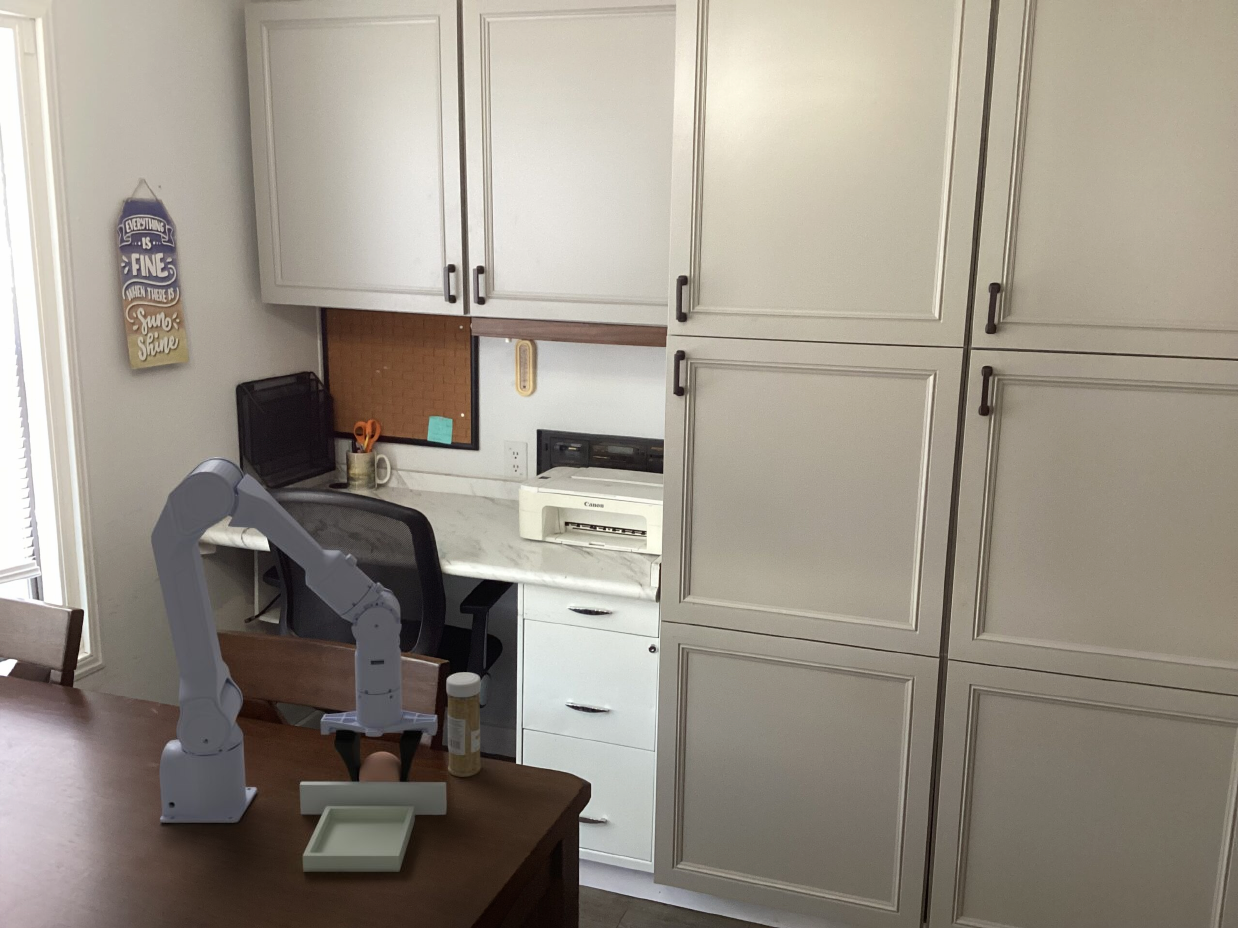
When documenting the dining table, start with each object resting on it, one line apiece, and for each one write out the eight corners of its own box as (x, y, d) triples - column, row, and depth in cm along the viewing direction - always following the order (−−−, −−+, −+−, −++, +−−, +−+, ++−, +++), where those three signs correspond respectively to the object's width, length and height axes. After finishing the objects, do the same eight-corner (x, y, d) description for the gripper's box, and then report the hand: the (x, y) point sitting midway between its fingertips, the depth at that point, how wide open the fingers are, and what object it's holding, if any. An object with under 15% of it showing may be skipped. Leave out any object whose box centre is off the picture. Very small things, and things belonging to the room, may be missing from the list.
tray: (303, 871, 116) (302, 855, 116) (326, 820, 127) (326, 805, 126) (399, 871, 116) (398, 855, 116) (414, 820, 127) (414, 806, 127)
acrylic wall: (300, 814, 128) (299, 784, 127) (302, 810, 129) (301, 781, 128) (445, 814, 129) (445, 785, 128) (446, 811, 129) (446, 782, 129)
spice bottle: (486, 772, 139) (486, 679, 137) (455, 781, 137) (455, 686, 134) (472, 758, 143) (471, 668, 141) (441, 767, 141) (440, 674, 138)
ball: (354, 804, 130) (353, 764, 129) (364, 782, 136) (363, 743, 135) (399, 804, 131) (398, 764, 130) (406, 783, 136) (405, 743, 135)
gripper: (312, 698, 126) (316, 799, 129) (431, 698, 127) (432, 799, 129) (327, 675, 133) (330, 771, 136) (439, 676, 134) (440, 772, 136)
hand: (381, 783), depth 133 cm, fingers closed on ball, 6 cm apart
